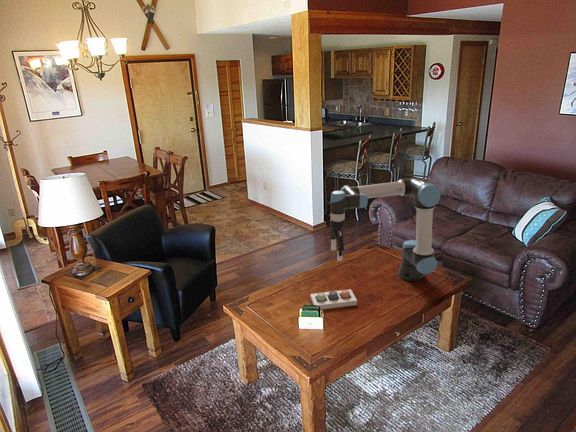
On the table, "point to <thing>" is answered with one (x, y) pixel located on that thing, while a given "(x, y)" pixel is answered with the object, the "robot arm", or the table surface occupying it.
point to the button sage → (321, 297)
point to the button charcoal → (333, 295)
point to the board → (334, 303)
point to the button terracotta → (345, 294)
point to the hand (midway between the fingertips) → (336, 255)
